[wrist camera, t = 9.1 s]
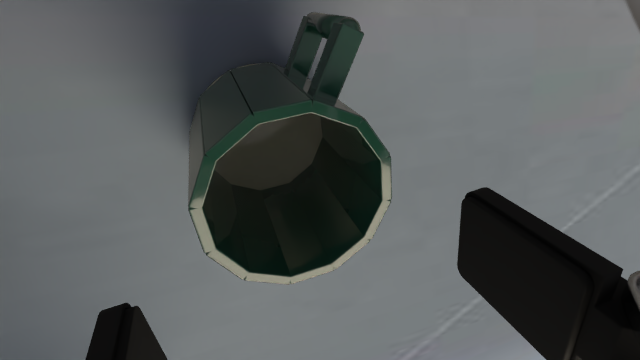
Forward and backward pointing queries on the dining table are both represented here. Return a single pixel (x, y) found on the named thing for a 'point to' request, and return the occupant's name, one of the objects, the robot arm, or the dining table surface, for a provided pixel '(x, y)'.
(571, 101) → the dining table surface
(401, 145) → the dining table surface
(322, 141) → the green mug
